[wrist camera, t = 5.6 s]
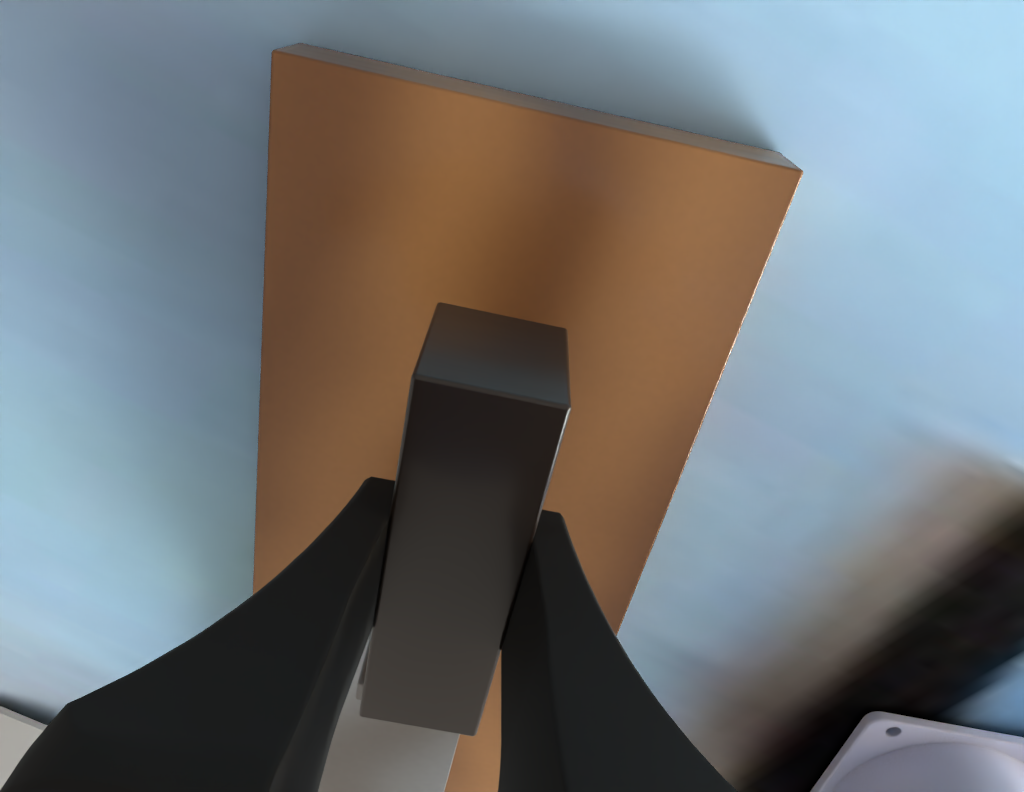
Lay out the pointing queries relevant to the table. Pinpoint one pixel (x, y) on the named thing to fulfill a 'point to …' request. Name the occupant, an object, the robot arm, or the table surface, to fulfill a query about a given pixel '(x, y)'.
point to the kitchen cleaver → (15, 740)
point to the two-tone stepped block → (453, 545)
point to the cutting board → (495, 295)
